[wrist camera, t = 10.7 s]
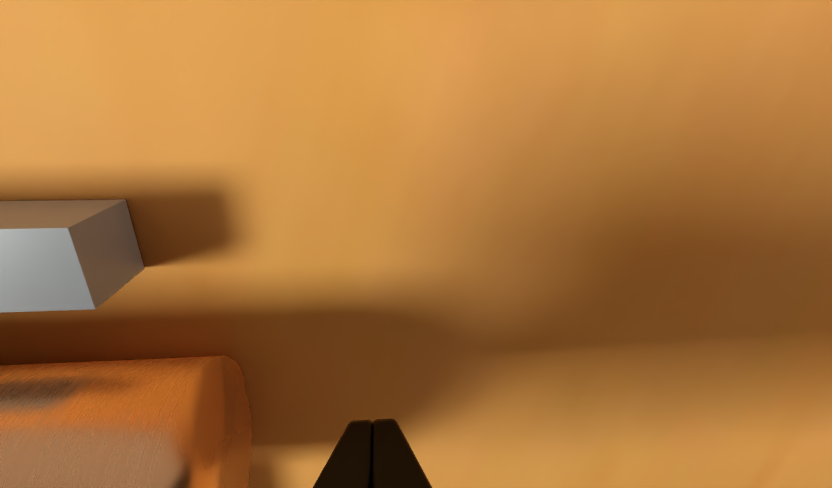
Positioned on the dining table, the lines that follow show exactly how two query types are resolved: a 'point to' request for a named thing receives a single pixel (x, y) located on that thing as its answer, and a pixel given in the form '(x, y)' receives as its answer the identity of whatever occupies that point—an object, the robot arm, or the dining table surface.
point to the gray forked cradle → (65, 253)
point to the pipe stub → (125, 424)
